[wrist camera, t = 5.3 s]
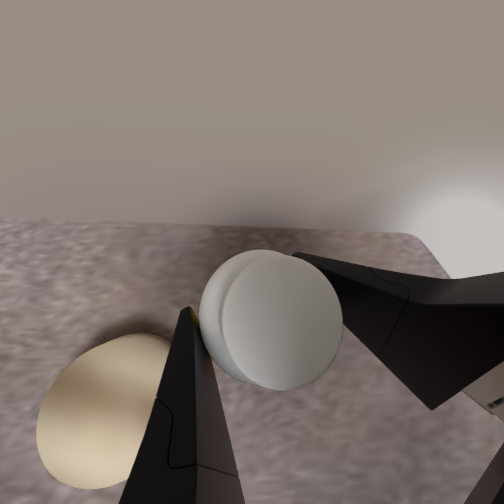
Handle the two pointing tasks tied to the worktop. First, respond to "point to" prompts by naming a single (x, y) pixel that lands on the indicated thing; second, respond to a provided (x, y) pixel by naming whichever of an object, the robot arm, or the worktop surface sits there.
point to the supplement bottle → (271, 320)
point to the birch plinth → (101, 411)
